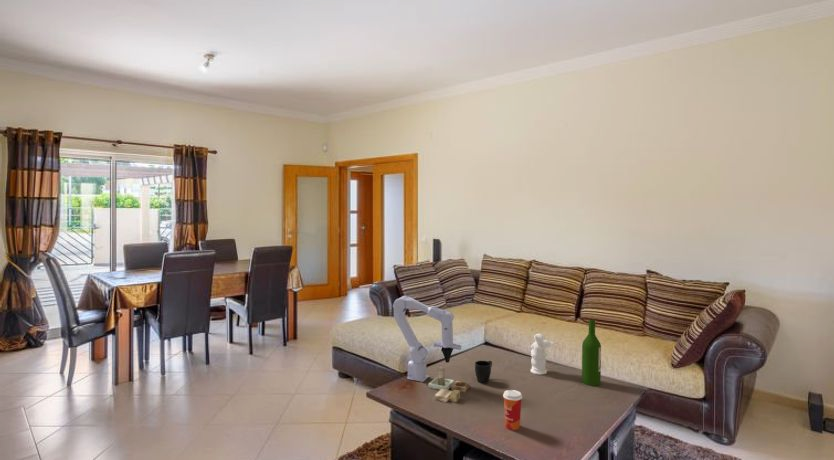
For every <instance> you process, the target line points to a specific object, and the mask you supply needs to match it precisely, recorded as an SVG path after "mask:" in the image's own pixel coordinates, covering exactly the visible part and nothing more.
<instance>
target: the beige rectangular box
mask: <svg viewBox="0 0 834 460" xmlns="http://www.w3.org/2000/svg"><path fill="white" fill-rule="evenodd" d="M452 391H453V390H449V389H448V390H445V389H441V390H439V391H437V393H435V394H434V400H435V401H440V402H445V403H447V402H448V401H450V393H451V392H452Z"/></svg>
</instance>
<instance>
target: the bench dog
mask: <svg viewBox="0 0 834 460" xmlns="http://www.w3.org/2000/svg"><path fill="white" fill-rule="evenodd" d="M451 391H452V392H451V393H450V399H449V401H450V402H454V403H457V402H458V401H459V400H460V399H461V391H459V390H451Z"/></svg>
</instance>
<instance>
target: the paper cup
mask: <svg viewBox="0 0 834 460" xmlns="http://www.w3.org/2000/svg"><path fill="white" fill-rule="evenodd" d="M502 397H503V408H504V425H505V428H506V429H507V430H510V431H518V430H520V426H521V425H520V424H521V413H522V412H521V411H522V400H523V395H522V392H520V390H519V391H518V390H516V389H509V390H508V389H507V390H505V391H504V392H503V394H502Z"/></svg>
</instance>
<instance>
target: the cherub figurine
mask: <svg viewBox="0 0 834 460" xmlns="http://www.w3.org/2000/svg"><path fill="white" fill-rule="evenodd" d="M533 338H534V342H533V343H532V344H530V347H529V348H530V349H531V352H530V355H531V360H530V364H531V368H530V373H532V374H533V375H539V376H540V375H546V374H547V372H548V370H547V369H546V365H547V360H546V357H547V352H546V349H547V348H550V347H552V346H553V345H554V343H555V342H554V341H550V340H549V339H545V338H546V337H545V335H543V334H542V333H536V334H534V336H533Z"/></svg>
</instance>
